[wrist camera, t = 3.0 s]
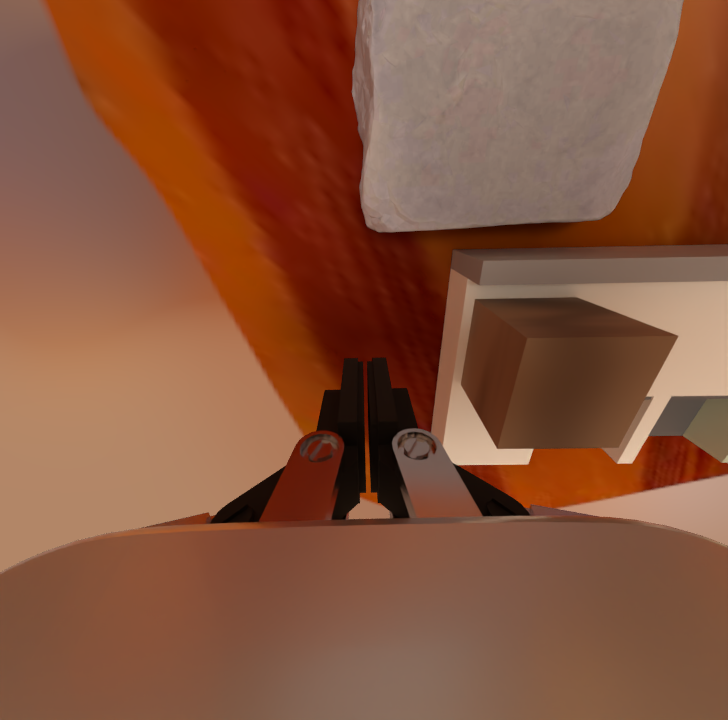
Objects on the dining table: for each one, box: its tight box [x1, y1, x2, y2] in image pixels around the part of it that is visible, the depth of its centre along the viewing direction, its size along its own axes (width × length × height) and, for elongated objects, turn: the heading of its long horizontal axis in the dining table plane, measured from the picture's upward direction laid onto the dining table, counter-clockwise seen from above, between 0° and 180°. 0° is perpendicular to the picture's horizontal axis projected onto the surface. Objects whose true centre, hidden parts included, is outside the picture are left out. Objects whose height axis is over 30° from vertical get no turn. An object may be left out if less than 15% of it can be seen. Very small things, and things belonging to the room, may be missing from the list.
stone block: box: [352, 0, 684, 233], centre depth 12 cm, size 12×5×10 cm
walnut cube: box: [461, 297, 678, 449], centre depth 13 cm, size 5×5×5 cm
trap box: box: [431, 244, 728, 465], centre depth 16 cm, size 26×14×4 cm, turn 91°
